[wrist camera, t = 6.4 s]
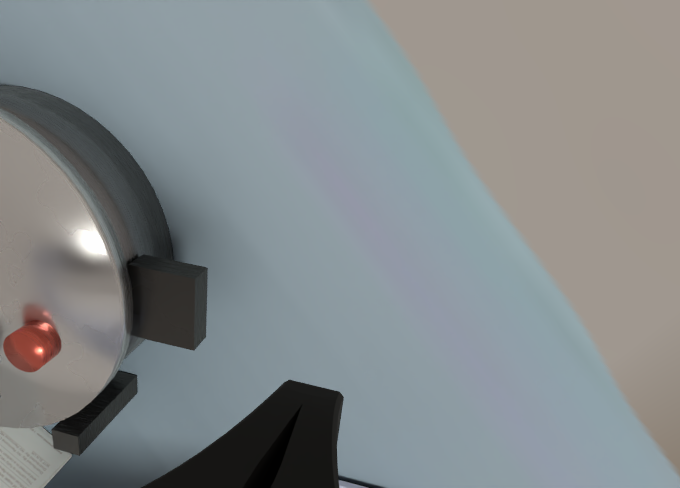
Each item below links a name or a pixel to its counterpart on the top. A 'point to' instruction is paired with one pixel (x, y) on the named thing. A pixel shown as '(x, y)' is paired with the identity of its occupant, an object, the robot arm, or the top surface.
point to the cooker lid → (55, 284)
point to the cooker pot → (136, 242)
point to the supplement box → (28, 457)
